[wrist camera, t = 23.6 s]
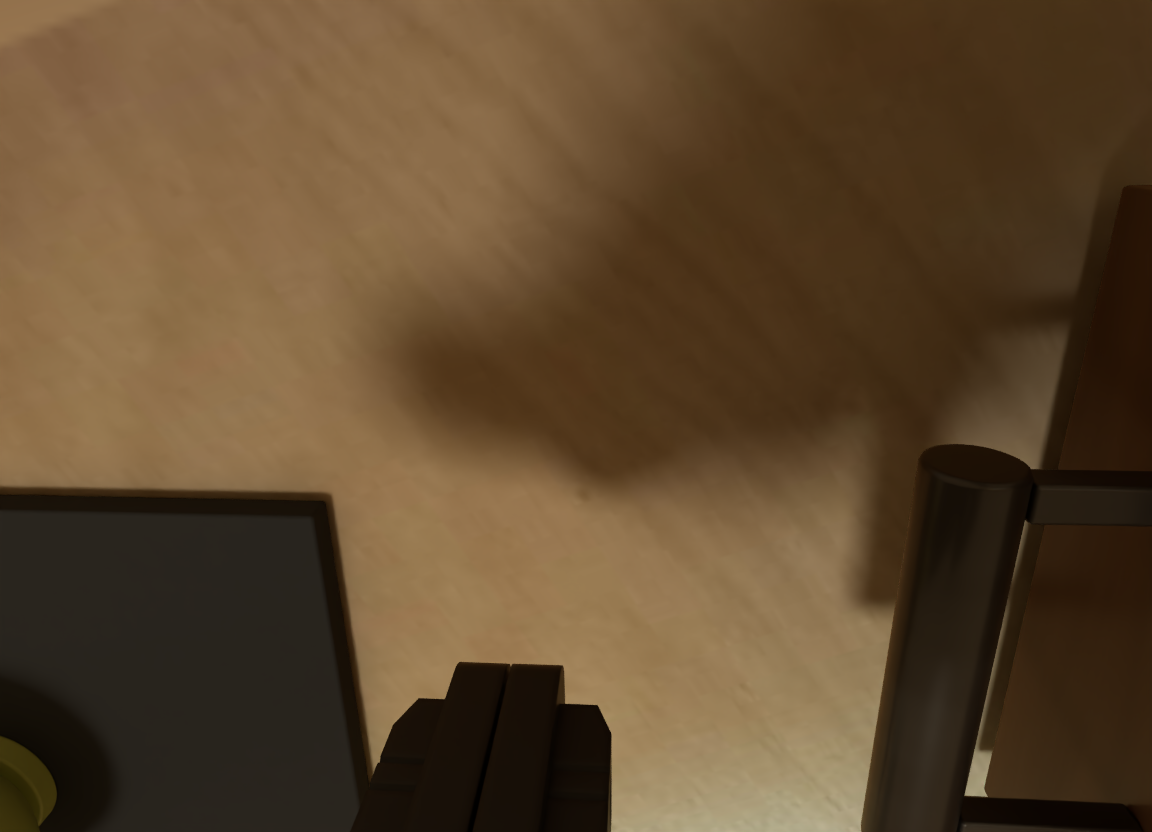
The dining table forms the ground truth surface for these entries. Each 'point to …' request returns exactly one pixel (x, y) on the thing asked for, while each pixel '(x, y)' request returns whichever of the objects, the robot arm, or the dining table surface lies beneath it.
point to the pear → (23, 789)
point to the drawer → (1034, 604)
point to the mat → (179, 663)
